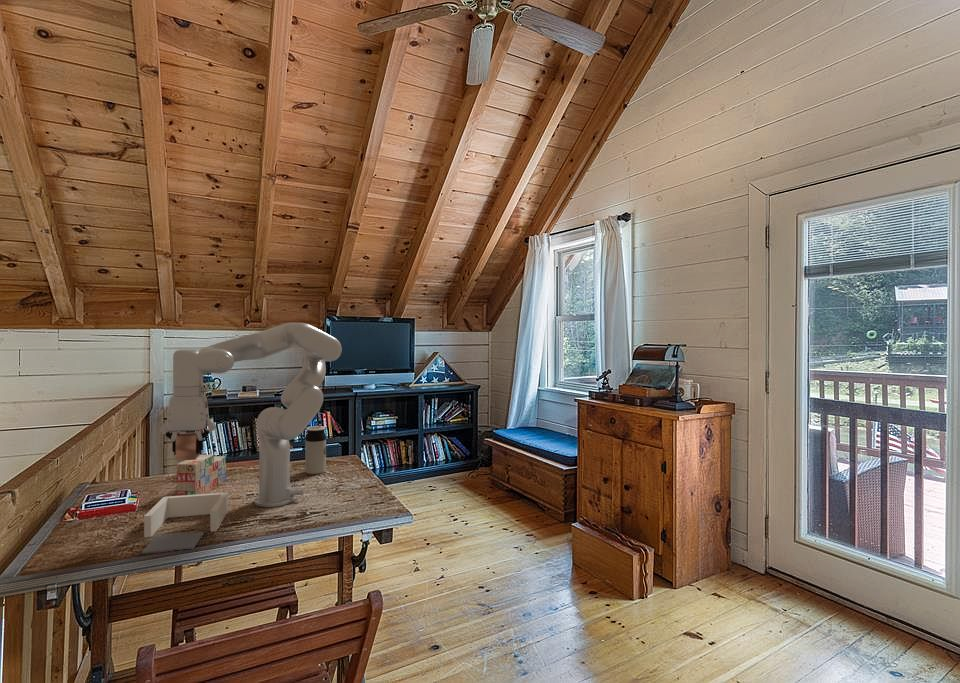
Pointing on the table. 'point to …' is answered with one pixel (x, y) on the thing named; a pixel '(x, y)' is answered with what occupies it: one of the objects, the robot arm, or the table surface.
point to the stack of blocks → (200, 474)
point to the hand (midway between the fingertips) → (187, 453)
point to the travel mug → (315, 450)
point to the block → (186, 446)
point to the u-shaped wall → (187, 510)
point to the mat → (173, 542)
